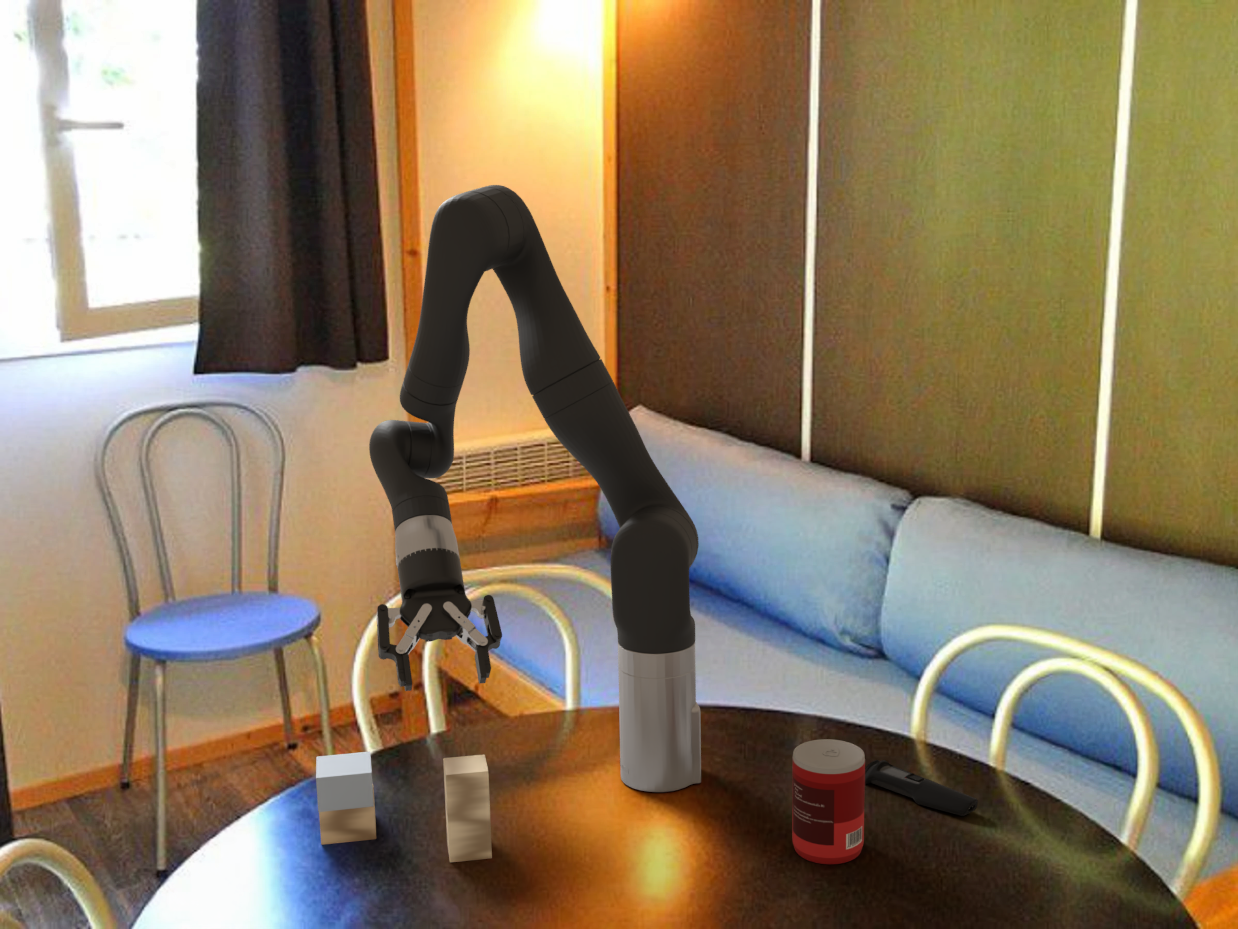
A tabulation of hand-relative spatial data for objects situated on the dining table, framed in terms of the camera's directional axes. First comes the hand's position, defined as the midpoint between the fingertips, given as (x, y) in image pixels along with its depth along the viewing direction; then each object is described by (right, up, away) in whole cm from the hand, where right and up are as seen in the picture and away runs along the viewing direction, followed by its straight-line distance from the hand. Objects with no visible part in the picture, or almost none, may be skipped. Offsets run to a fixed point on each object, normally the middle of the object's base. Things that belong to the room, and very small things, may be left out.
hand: (446, 684), depth 163 cm
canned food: (+42, -17, -9) cm, 46 cm away
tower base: (-11, -16, -3) cm, 20 cm away
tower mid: (-11, -12, -3) cm, 17 cm away
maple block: (+3, -17, -8) cm, 19 cm away
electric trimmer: (+55, -14, +3) cm, 56 cm away
